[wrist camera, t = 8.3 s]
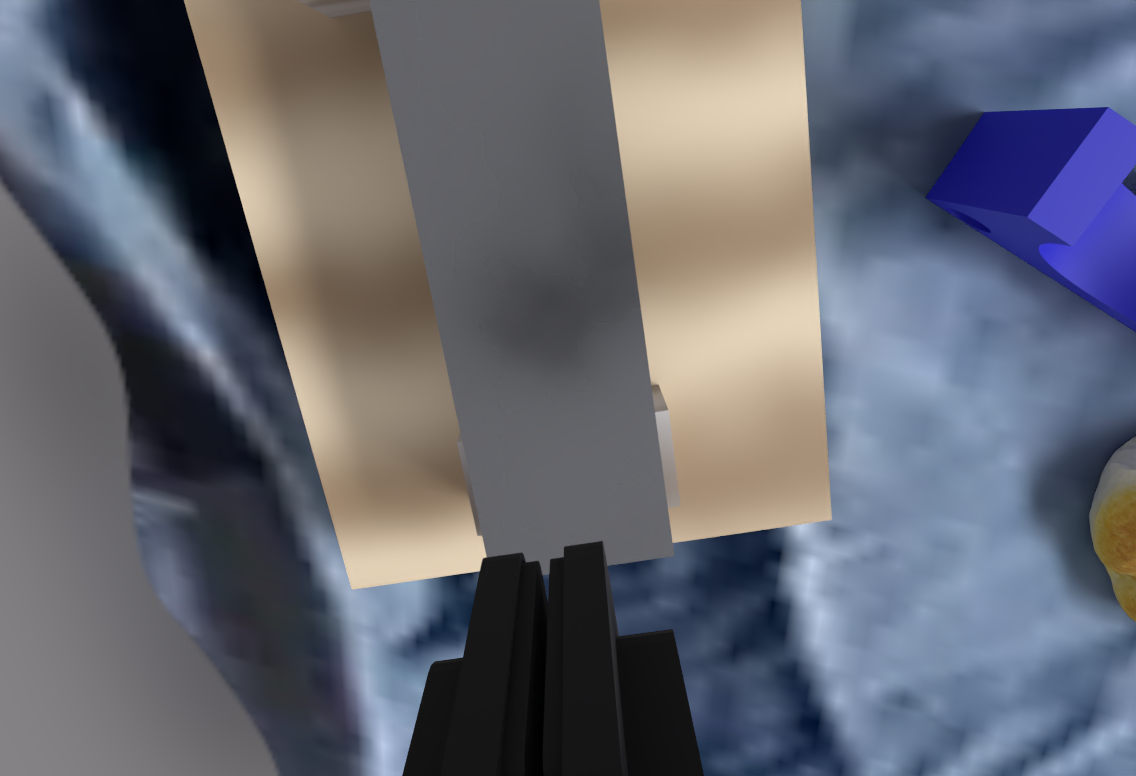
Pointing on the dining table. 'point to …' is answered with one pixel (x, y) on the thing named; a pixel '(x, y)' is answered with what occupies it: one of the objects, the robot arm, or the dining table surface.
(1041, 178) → the cable clip
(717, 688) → the dining table surface
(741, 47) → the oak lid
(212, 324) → the dining table surface
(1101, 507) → the bread roll
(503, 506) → the grey flat bar
